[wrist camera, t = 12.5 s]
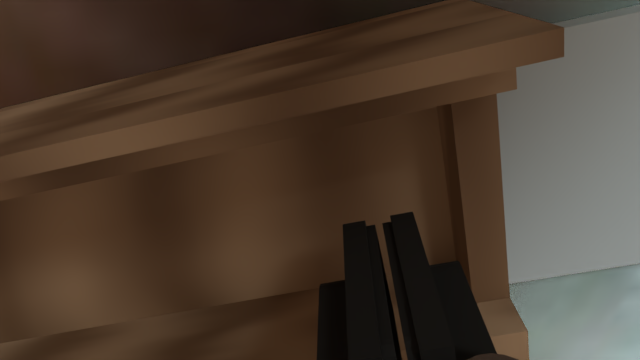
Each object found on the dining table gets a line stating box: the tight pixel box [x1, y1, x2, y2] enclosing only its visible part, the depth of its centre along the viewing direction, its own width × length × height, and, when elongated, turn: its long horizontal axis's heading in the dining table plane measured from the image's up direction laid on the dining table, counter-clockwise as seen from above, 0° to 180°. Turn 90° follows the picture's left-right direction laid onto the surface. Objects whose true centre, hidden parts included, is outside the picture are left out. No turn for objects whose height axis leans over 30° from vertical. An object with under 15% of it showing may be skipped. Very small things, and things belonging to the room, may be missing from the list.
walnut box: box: [0, 0, 564, 360], centre depth 14 cm, size 22×11×7 cm, turn 103°
